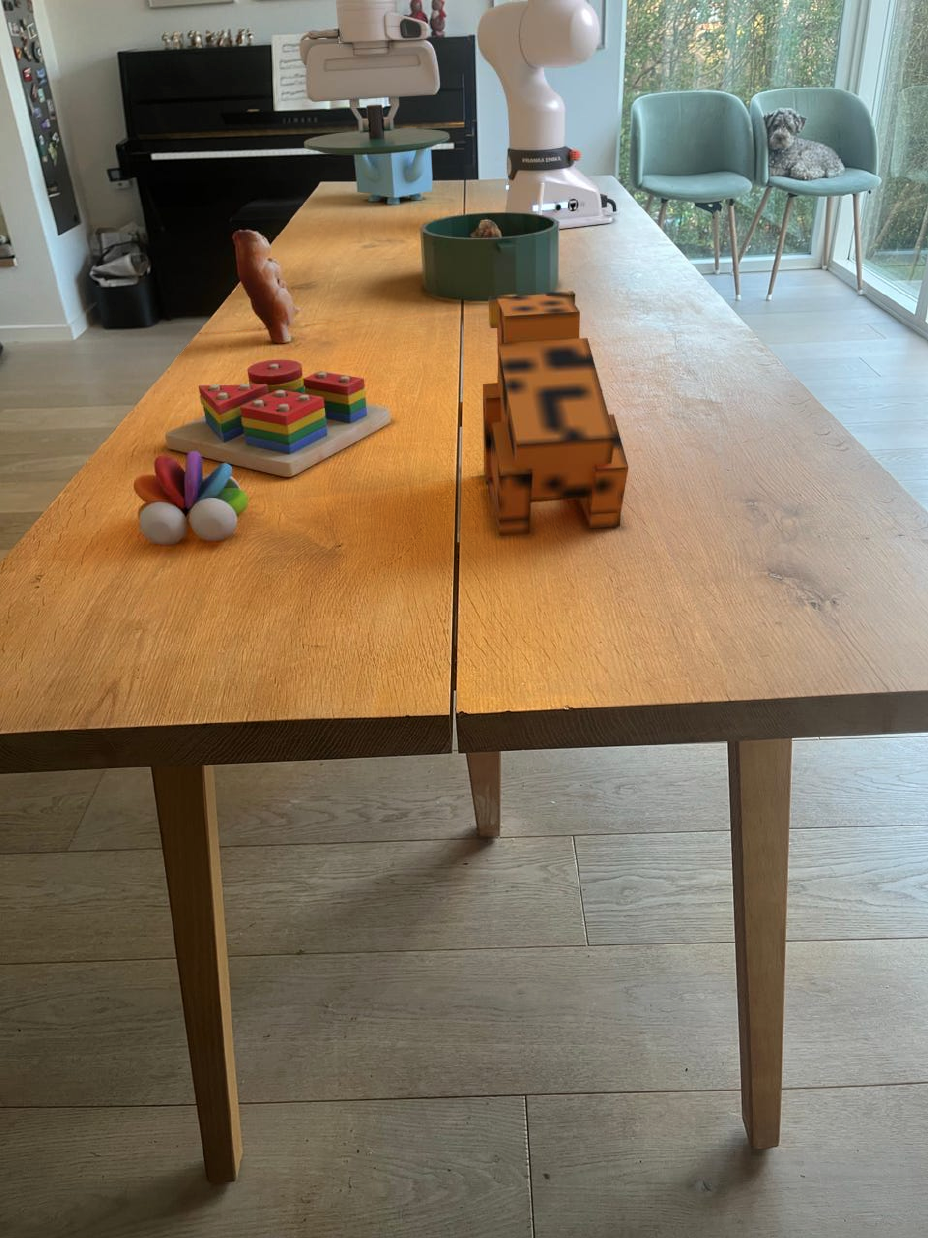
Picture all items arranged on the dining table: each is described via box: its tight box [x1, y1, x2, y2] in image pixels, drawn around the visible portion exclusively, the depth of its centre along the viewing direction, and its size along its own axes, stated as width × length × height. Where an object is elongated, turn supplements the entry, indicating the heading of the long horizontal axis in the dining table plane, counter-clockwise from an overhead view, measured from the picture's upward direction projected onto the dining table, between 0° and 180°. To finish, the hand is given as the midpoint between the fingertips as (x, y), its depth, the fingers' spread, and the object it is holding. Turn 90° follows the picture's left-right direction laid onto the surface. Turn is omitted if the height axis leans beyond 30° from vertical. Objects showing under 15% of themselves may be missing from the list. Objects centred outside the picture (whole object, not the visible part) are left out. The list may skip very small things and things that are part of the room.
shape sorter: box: [165, 359, 392, 478], centre depth 106 cm, size 18×17×6 cm
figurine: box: [232, 229, 302, 344], centre depth 134 cm, size 6×8×15 cm
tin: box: [419, 211, 560, 302], centre depth 157 cm, size 22×27×10 cm
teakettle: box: [353, 147, 434, 206], centre depth 231 cm, size 19×19×15 cm
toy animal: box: [482, 290, 629, 536], centre depth 88 cm, size 10×20×16 cm, turn 5°
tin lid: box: [303, 104, 451, 156], centre depth 152 cm, size 23×23×6 cm
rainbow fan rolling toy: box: [133, 451, 249, 547], centre depth 87 cm, size 8×10×7 cm
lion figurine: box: [470, 219, 502, 238], centre depth 156 cm, size 15×5×9 cm, turn 2°
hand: (376, 131), depth 153 cm, fingers closed on tin lid, 2 cm apart
